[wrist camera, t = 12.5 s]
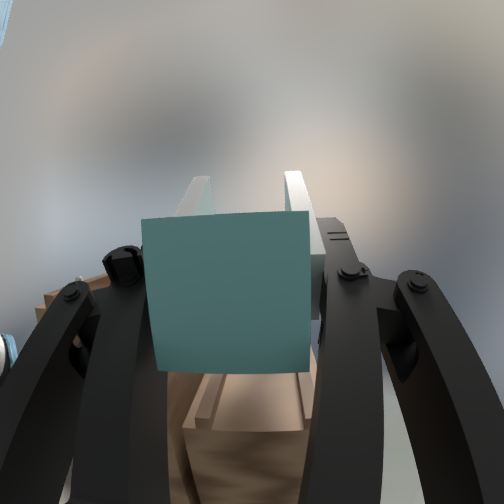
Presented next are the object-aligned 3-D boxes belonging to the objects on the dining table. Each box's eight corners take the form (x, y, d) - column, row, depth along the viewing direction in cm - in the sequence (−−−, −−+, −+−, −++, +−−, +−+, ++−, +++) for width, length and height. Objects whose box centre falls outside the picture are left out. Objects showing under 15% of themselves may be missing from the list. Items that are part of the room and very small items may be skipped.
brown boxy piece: (131, 537, 20) (32, 294, 17) (161, 470, 34) (118, 265, 31) (308, 554, 18) (346, 295, 15) (301, 478, 32) (311, 260, 29)
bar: (309, 372, 6) (308, 210, 6) (157, 370, 6) (140, 219, 6) (279, 255, 30) (277, 219, 29) (243, 256, 30) (241, 221, 29)
